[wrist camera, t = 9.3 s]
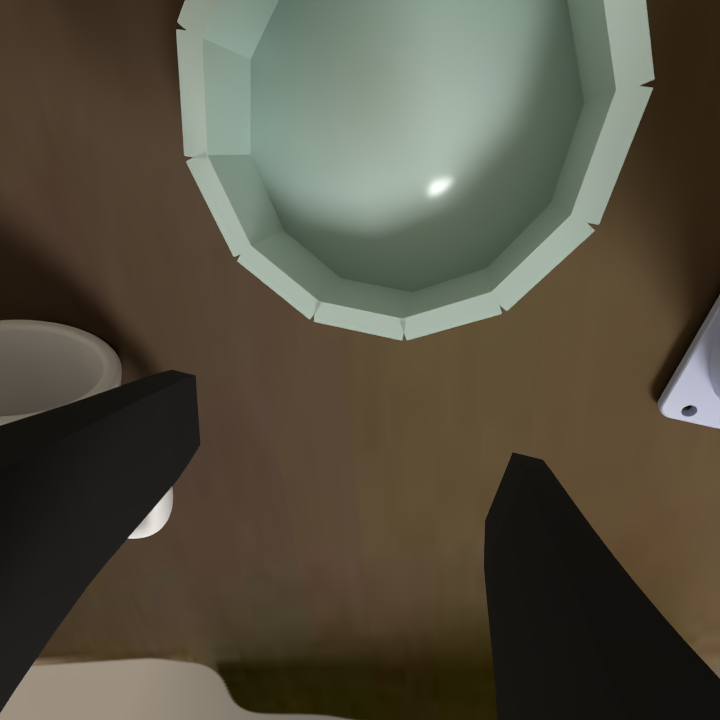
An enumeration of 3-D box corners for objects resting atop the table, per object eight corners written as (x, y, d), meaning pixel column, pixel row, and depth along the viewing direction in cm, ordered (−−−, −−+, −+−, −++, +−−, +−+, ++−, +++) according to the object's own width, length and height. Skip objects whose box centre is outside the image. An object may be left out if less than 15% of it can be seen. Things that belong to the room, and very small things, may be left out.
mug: (34, 434, 27) (-116, 533, 20) (22, 301, 22) (-181, 370, 15) (200, 508, 26) (107, 635, 20) (226, 389, 22) (115, 502, 15)
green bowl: (683, -109, 11) (772, -213, 8) (526, 330, 17) (541, 370, 14) (233, -137, 12) (158, -232, 9) (238, 271, 18) (193, 295, 15)
